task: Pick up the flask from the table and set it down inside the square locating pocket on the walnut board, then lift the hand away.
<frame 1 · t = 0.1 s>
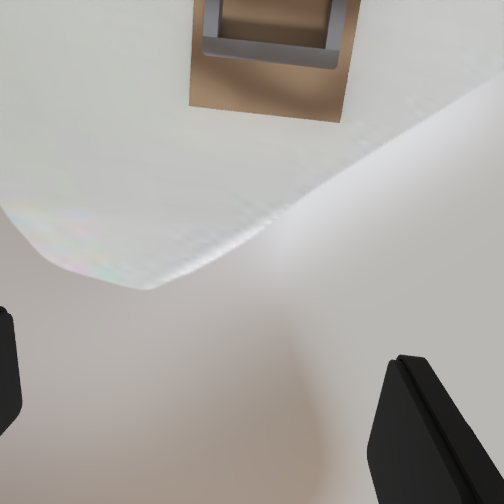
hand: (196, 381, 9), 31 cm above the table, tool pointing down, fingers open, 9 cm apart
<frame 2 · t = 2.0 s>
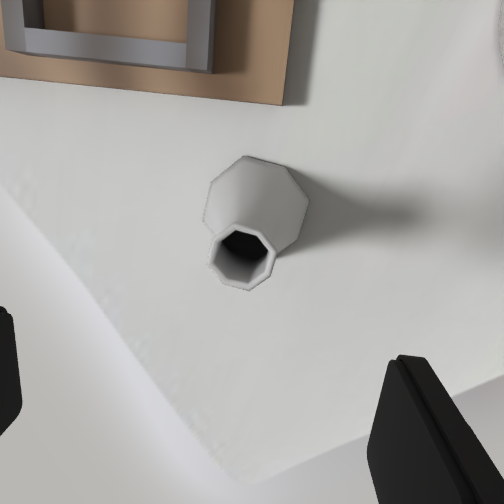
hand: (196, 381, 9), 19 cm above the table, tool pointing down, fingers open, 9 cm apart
flask: (255, 209, 27), on the table
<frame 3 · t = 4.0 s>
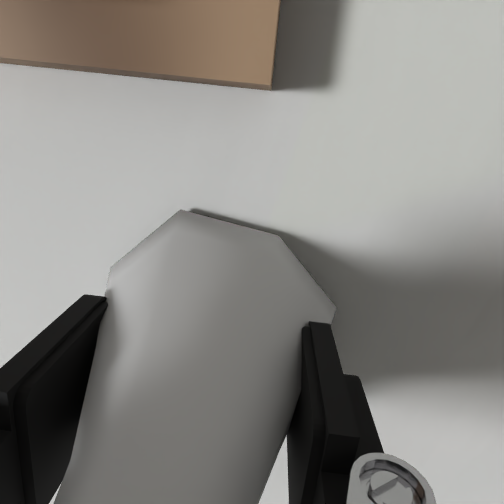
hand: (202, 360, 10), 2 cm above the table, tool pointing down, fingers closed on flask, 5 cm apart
flask: (215, 320, 12), on the table, touching gripper
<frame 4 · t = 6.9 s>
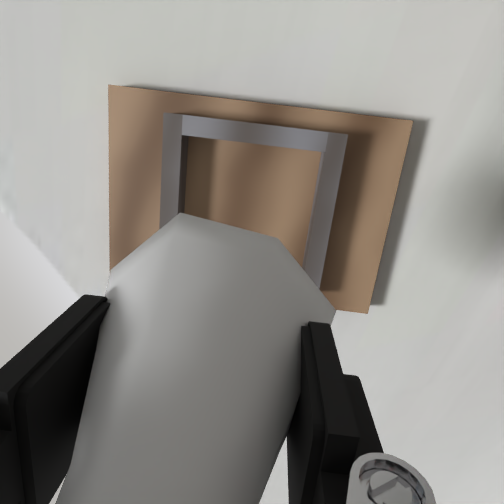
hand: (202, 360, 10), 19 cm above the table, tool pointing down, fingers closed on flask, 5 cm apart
flask: (215, 322, 12), point 17 cm above the table, touching gripper
walnut board: (249, 203, 29), on the table
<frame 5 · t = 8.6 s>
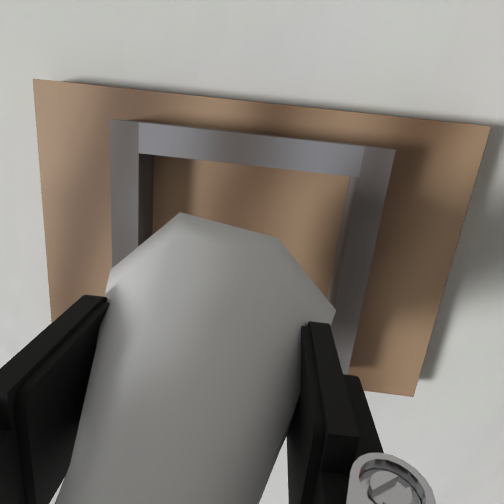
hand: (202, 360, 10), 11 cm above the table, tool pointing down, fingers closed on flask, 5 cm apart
flask: (215, 322, 12), point 8 cm above the table, touching gripper
walnut board: (244, 244, 20), on the table
when the fingers open (6 cm above the table, at t = 9.9 s): flask drops 2 cm, resting on walnut board.
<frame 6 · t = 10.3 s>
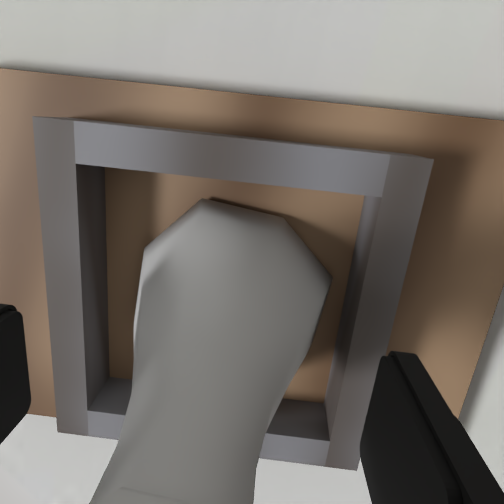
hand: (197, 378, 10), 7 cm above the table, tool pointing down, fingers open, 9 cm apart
flask: (231, 292, 15), point 1 cm above the table, touching walnut board
walnut board: (228, 276, 16), on the table
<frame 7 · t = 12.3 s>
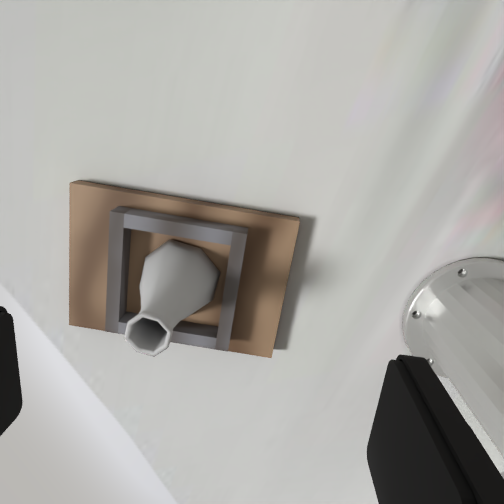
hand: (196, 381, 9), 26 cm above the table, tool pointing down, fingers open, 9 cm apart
flask: (180, 276, 35), point 1 cm above the table, touching walnut board
walnut board: (181, 270, 37), on the table
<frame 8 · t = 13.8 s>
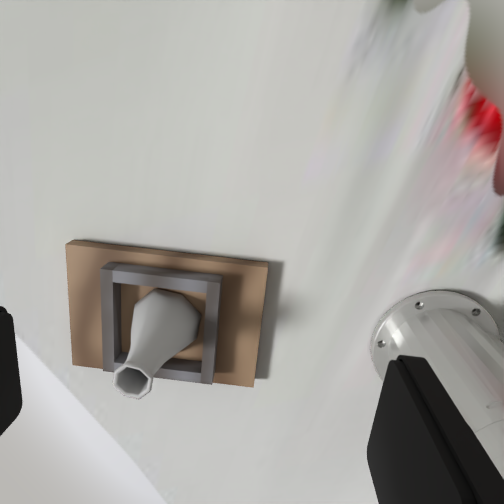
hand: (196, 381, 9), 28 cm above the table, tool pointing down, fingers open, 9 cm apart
flask: (167, 319, 40), point 1 cm above the table, touching walnut board
walnut board: (168, 312, 41), on the table
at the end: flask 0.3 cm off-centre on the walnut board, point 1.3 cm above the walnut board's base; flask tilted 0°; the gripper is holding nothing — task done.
